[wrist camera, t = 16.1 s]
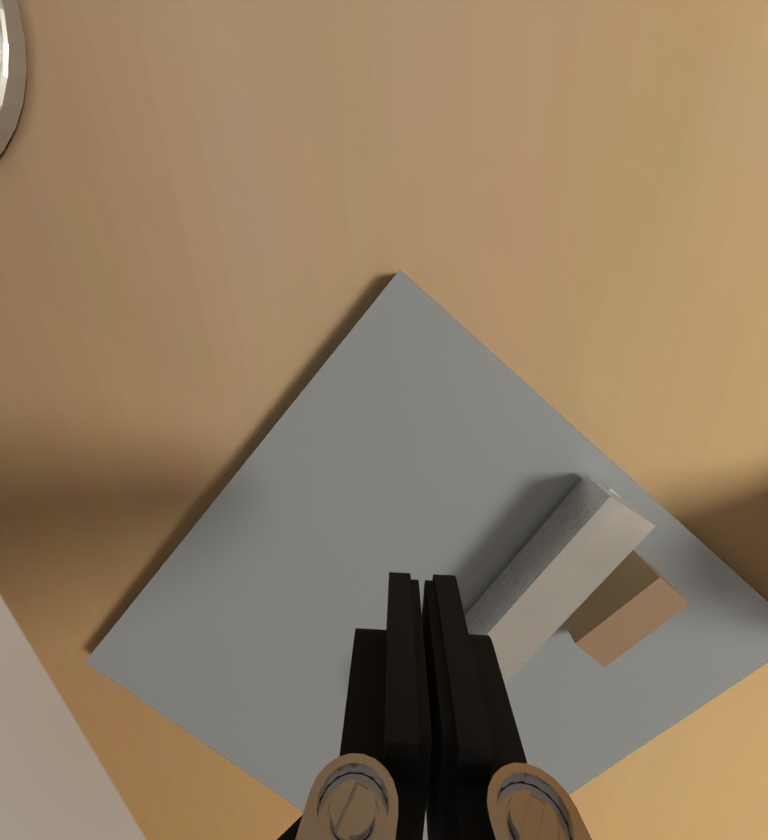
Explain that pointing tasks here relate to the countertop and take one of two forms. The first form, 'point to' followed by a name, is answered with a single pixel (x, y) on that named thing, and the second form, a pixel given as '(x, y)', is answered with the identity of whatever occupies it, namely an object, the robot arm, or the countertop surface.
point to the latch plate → (420, 565)
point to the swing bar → (556, 572)
